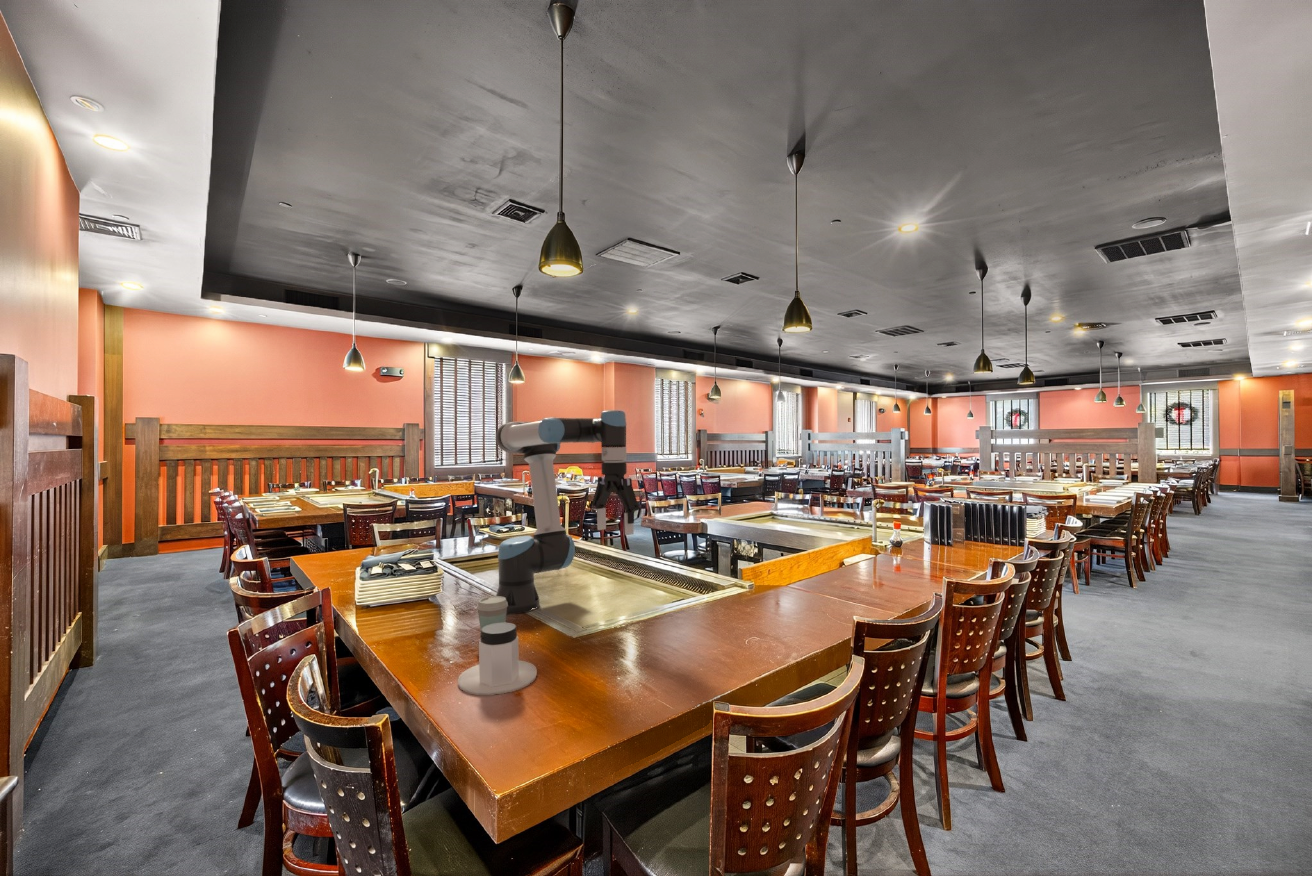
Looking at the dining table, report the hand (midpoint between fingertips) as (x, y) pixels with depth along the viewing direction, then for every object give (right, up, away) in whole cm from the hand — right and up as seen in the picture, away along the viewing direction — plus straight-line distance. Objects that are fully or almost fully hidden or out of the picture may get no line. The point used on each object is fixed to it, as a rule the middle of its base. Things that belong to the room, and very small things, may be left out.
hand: (615, 532), depth 171 cm
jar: (-24, -28, -39) cm, 54 cm away
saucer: (-25, -29, -36) cm, 53 cm away
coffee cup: (-34, -29, -11) cm, 46 cm away
